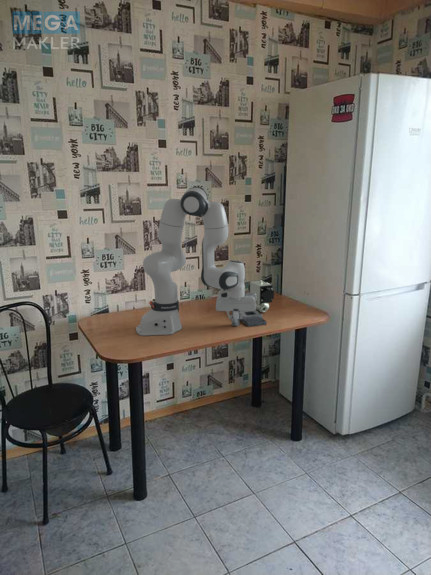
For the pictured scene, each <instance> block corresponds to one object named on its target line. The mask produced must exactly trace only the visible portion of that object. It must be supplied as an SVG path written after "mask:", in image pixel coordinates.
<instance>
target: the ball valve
mask: <svg viewBox="0 0 431 575" xmlns="http://www.w3.org/2000/svg"><path fill="white" fill-rule="evenodd" d="M247 287H248V288H247V290H248V293H255V294H256V295H257V299H256V301H255V303H256V311H258V312H259V313H266V312H267V311H268V310H269V309H270V303H273V300H274V299H275V298H274V297H275V290H274V289H273V284H271V283H269V282H268V281H267V282H266V281H263V280H262V279H258V280H250V281H249V285H248V286H247ZM255 294H254V295H255Z"/></svg>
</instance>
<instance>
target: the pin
mask: <svg viewBox="0 0 431 575" xmlns="http://www.w3.org/2000/svg"><path fill="white" fill-rule="evenodd" d="M231 315H232V319H231V326H232V327H240V325H241V324H240V322H241V320H240V311H239V309H233V311H231Z"/></svg>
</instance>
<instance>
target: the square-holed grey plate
mask: <svg viewBox="0 0 431 575" xmlns="http://www.w3.org/2000/svg"><path fill="white" fill-rule="evenodd" d="M241 314H242V311H240V315H241ZM263 317H264V316H263V313H261V312H260V311H258V310H257V309H256V310H255V311H245V314H244V315H243V319H240V322H242V323H243V324H244V325H245V326H247V327H250V328H251V327H257V326H258V327H259V326H267V320H266V319H264V318H263Z"/></svg>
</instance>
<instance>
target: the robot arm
mask: <svg viewBox="0 0 431 575" xmlns="http://www.w3.org/2000/svg"><path fill="white" fill-rule="evenodd" d="M208 199H209V198H208V194H207V192H206V190H204V189H203V188H202V187H199V186H193V187H190V188H188V189H187V190H186V191H185V192H184V193H183V195H182V196H181V198H179V199H178V198H170V199H168V200H166V201H165V202H164V205H163V207H162V212H161V214H160V215H161V216H160V218H159V219H160V220H159V227H158V232H157V238H158V240H159V241H160V242H161V251H155V252H153V253H151V254H148V255H147V256H145V258H144V259H143V262H142V267H143V268H142V269H143V271H144V272H145V273H146V274H147V275H148V276H149V277H150V279H151V281H152V284H153V287H154V301H153V300H150V301H149V303H148V304H149V305H150V309H149V310H148V311H147V312H146V313H144V315H141V318H140V324H138V325H137V326H136V327H135V332H136V334H137V335H139V336H142V337H143V336H144V337H145V336H163V335H164V336H165V335H166V336H167V335H168V336H169V335H170V336H171V335H174V334H175V333H176V332H179V331H181V330H182V329H183V325H182V323H181V319H180V315H179V312H180V301H179V297H178V294H179V291H178V284H177V283H176V282H175V281H173V279H172V275H171V274H172V273H173V272H177V271H179V270H180V269H181V268H183V267H184V266H185V265H186V261H187V257H186V254H185V252H184V251H183V249H182V248H183V247H182V238H183V232H184V225H185V221H186V217H187V215H188V216H191V217H198V218H202V222H203V230H204V232H203V234H204V236H203V238H202V242H201V260H202V261H201V263H202V264H201V266H202V267H201V273H200V279H201V283H202V284H203V285H204V286H206V287H209V288H210V287H211V288H215V289H218V290H219V291H218V293H217V297H216V301H215V311H217V312H226V314H227V316H228V320H232V314H230V312H232V311H233V309H239V311H242V314H241V315H240V319H243V315H244V314H245V311H255V310H256V311H257V309H256V303H255V302H257V301H256V299H257V295H256V294H255V293H249V292H246V285H245V279H246V269H245V264H244V262H242V261H239V260H228V262H227V264H226V265H225V266H224V267H222V268H218V267H217V266H216V264H215V250H216V248H217V247H218V246H221V245H222V244H224V243H225V242H226V241H227V240H228V238H229V233H230V231H229V224H228V218H227V213H226V210H225V207H224V205H223V204H222V203H221V202H219V201H210V200H208ZM254 294H255V295H254Z"/></svg>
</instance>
